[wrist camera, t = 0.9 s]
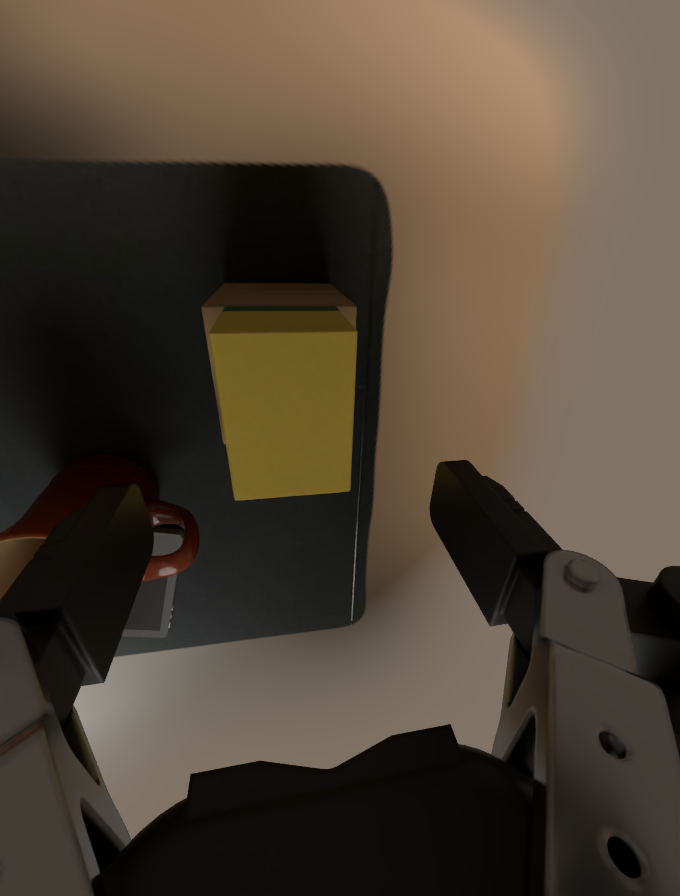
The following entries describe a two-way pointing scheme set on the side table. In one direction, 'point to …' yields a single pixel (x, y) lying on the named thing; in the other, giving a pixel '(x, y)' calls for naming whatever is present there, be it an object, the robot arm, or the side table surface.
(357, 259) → the side table surface
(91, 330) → the side table surface
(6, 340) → the side table surface
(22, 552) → the mug
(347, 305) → the tall wooden block
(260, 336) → the sponge
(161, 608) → the smartphone
